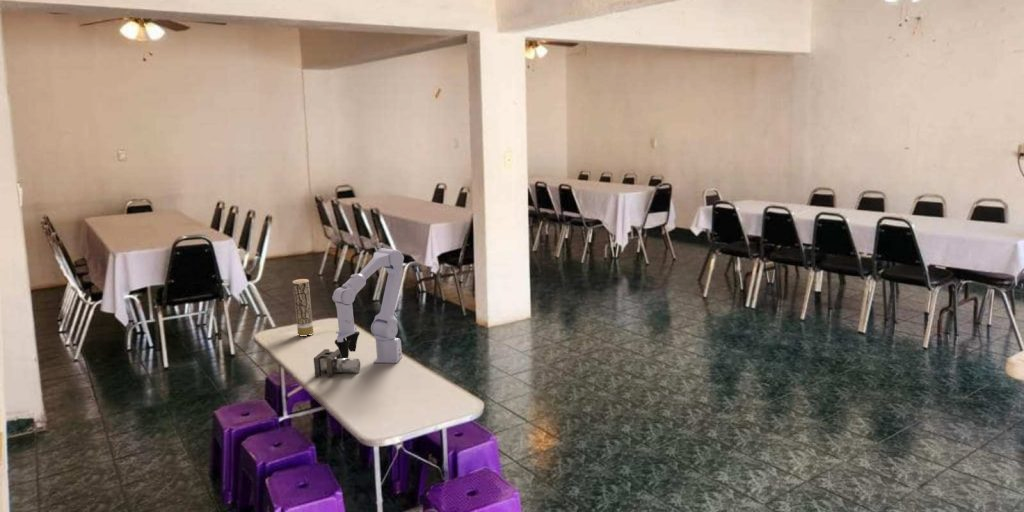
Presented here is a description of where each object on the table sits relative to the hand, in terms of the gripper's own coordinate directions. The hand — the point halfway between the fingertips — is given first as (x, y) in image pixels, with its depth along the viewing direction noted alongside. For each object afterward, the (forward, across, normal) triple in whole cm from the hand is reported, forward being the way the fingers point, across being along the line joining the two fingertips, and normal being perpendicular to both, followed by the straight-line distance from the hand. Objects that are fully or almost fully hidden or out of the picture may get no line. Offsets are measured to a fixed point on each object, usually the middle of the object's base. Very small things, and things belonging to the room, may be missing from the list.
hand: (348, 354), depth 268 cm
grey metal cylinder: (+7, 0, -4) cm, 8 cm away
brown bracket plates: (+7, 0, -8) cm, 11 cm away
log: (+8, -47, -39) cm, 61 cm away
